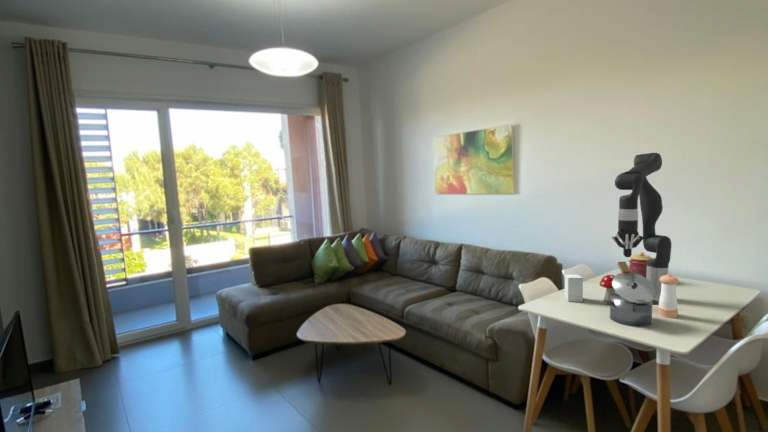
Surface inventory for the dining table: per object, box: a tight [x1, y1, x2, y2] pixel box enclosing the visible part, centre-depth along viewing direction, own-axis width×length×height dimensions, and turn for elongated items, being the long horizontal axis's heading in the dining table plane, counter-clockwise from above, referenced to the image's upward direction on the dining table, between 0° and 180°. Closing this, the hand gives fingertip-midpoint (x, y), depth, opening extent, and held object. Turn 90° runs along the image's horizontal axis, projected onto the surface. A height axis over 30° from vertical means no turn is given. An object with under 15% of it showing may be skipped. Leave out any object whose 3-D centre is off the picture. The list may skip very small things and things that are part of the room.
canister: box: [628, 251, 654, 278], centre depth 238 cm, size 13×13×18 cm
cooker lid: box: [612, 261, 656, 305], centre depth 177 cm, size 17×23×3 cm
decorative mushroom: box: [599, 274, 616, 307], centre depth 200 cm, size 10×9×15 cm
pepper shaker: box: [657, 273, 679, 319], centre depth 182 cm, size 7×7×19 cm
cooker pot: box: [603, 292, 659, 328], centre depth 177 cm, size 22×18×10 cm
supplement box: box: [564, 274, 584, 303], centre depth 209 cm, size 7×7×13 cm
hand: (627, 256), depth 180 cm, fingers closed
